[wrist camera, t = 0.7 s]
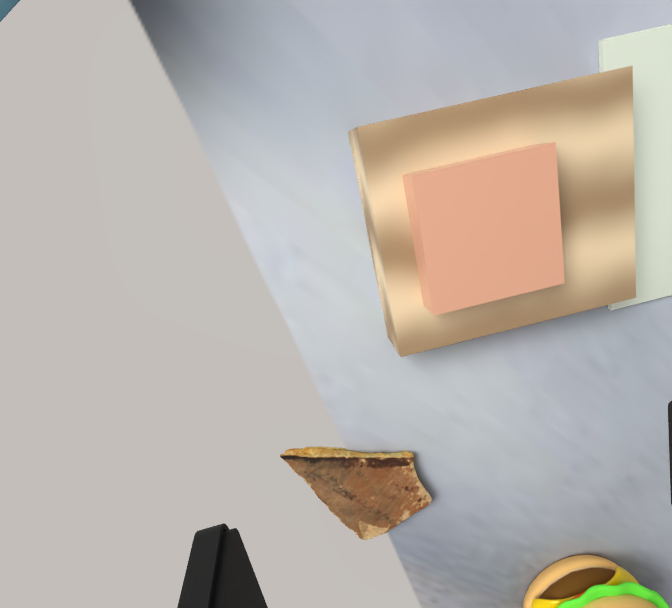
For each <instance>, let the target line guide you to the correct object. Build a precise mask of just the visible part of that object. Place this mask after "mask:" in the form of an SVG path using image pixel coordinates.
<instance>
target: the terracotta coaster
mask: <svg viewBox="0 0 672 608" xmlns="http://www.w3.org/2000/svg"><path fill="white" fill-rule="evenodd" d="M402 178H403V184H404V190H405V196H406V202H407V208H408V214H409V220H410V226H411V232H412V238H413V244H414V251H415V257H416V263H417V269H418V275H419V281H420V287H421V293H422V299H423V305H424V307H425V308H426V309H428V310H429V311H430V312H431V313H432V314H433V315H434V316H435V315H439V314H443V313H447V312H451V311H455V310H459V309H463V308H467V307H471V306H475V305H479V304H483V303H487V302H491V301H495V300H499V299H503V298H507V297H511V296H515V295H519V294H523V293H527V292H532V291H536V290H540V289H544V288H548V287H552V286H556V285H560V284H564V283H565V279H564V263H563V247H562V232H561V216H560V201H559V185H558V170H557V154H556V142H550V143H540V144H533V145H529V146H525V147H520V148H516V149H512V150H507V151H503V152H498V153H494V154H490V155H485V156H481V157H477V158H472V159H468V160H464V161H459V162H455V163H451V164H446V165H442V166H438V167H433V168H429V169H425V170H420V171H416V172H412V173H407V174H403V175H402Z"/></svg>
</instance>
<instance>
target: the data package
mask: <svg viewBox="0 0 672 608" xmlns="http://www.w3.org/2000/svg"><path fill="white" fill-rule="evenodd" d="M19 1H20V0H0V22H1V20H2V19H3V18H4V17H5V16H6V15H7V14H8V13H9V12H10V11H11V9H12V8H13V7H14V6H15V5H16V4H17V3H18V2H19Z"/></svg>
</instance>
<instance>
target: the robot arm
mask: <svg viewBox="0 0 672 608" xmlns="http://www.w3.org/2000/svg"><path fill="white" fill-rule="evenodd" d="M668 423H669V453H670V483H671V504H672V401H671V402H670V403H669V404H668ZM178 608H268V607H267V605H266V602H265V600H264V597H263V594H262V592H261V589H260V586H259V584H258V581H257V578H256V576H255V573H254V571H253V568H252V565H251V563H250V561H249V557H248V555H247V552H246V550H245V547H244V544H243V542H242V539H241V537H240V534H239V532H238V530H237V529H236V528H234V529H231V530H229V528H228V527H227V525H226V524H221V525H217V526H213V527H210V528H206V529H203V530H200V531H197V532H196V534H195V536H194V540H193V544H192V548H191V553H190V557H189V561H188V566H187V570H186V574H185V578H184V582H183V587H182V591H181V595H180V599H179V603H178Z"/></svg>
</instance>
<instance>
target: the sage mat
mask: <svg viewBox="0 0 672 608" xmlns="http://www.w3.org/2000/svg"><path fill="white" fill-rule="evenodd" d="M598 46H599V73H601V72H606V71H610V70H615V69H619V68H623V67H628V66H632V65H633V127H634V194H635V261H636V298H633V299H629V300H625V301H621V302H617V303H613V304H609V305H608V309H609V310H615V309H619V308H623V307H627V306H631V305H635V304H639V303H643V302H647V301H651V300H655V299H658V298H662V297H666V296H670V295H672V24H670V25H665V26H661V27H656V28H651V29H647V30H642V31H638V32H633V33H629V34H624V35H620V36H615V37H611V38H606V39H602V40H599V41H598Z"/></svg>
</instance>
